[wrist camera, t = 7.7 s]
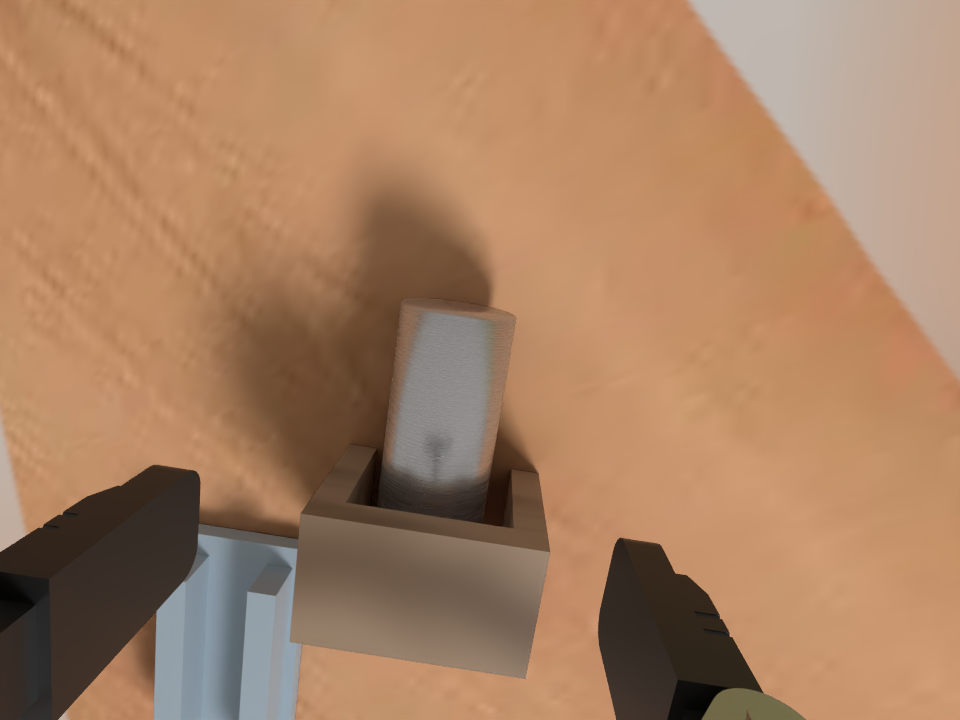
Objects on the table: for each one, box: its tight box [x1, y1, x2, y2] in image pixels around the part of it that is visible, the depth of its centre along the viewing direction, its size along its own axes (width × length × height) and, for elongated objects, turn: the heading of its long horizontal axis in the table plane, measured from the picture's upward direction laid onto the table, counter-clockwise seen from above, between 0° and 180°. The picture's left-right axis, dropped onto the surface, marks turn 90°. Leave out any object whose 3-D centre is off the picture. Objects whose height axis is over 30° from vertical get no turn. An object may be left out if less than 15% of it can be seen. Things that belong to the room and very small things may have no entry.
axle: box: [377, 298, 516, 524], centre depth 23 cm, size 13×4×4 cm, turn 172°
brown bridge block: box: [289, 444, 550, 679], centre depth 23 cm, size 5×8×6 cm, turn 82°
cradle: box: [154, 524, 302, 720], centre depth 27 cm, size 12×6×3 cm, turn 172°
